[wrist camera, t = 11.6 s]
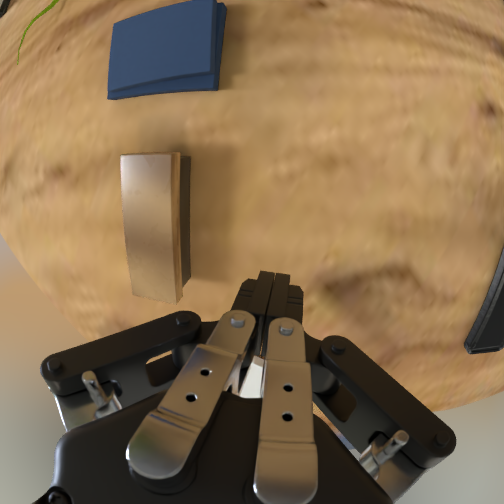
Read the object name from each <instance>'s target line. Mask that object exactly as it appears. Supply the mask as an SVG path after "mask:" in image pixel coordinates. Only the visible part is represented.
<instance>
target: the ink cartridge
mask: <svg viewBox="0 0 504 504" xmlns="http://www.w3.org/2000/svg"><path fill="white" fill-rule="evenodd" d="M9 2H10V0H0V18H1V17H2V16H3V15H4V14H5V13H6V10H7V8H8V5H9Z"/></svg>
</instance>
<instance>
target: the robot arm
mask: <svg viewBox="0 0 504 504" xmlns="http://www.w3.org/2000/svg"><path fill="white" fill-rule="evenodd" d="M274 277H275V280H274ZM289 283H290V275H288V274H281V273H276V275H275V273H274V272H267V271H260V273H259V276H258V279H257V280H255V279H247V280H246V281H244V282H243V283H242V285H241V287H240V290H239V292H238V294H237V296H236V299H235V301H234V303H233V306H232V308H231V310H230V311H228V312H226V313H225V314H223V316H222V317H221V319H220V320H219V321H213V322H201V318H200V317H199V315H197V314H196V313H194V312H191V311H178V312H175V313H172V314H169V315H166V316H164V317H161V318H158V319H155V320H152V321H150V322H147V323H144V324H141V325H138V326H136V327H133V328H130V329H127V330H124V331H121V332H118V333H115V334H113V335H110V336H107V337H104V338H101V339H98V340H95V341H92V342H89V343H86V344H83V345H80V346H77V347H74V348H71V349H68V350H65V351H61V352H58V353H55V354H52V355H50V356H48V357H47V358H46V359H44V361H43V362H42V364H41V367H40V372H41V375H42V376H43V378H44V380H45V381H46V383H47V385H48V386H49V389H50V391H51V392H52V394H53V395H54V397H55V398H56V401H57V404H58V408H59V411H60V414H61V418H62V420H63V424H64V427H65V429H66V433H65V434H64V435H63V436H62V438H60V440H59V442H58V443H57V446H56V448H55V454H54V473H53V479H52V483H51V486H50V488H49V490H48V491H47V492H46V493H45V494H44V495H43V496H42V497H41V498H39V499H38V500H37V501H35V502H33V503H32V504H394V503H395V502H396V501H397V500H398V499H399V498H400V497H402V496H403V495H404V493H406V492H407V491H408V490H409V489H410V488H411V487H412V486H413V485H414V484H415V483H416V482H417V481H418V480H419V478H420V477H421V476H422V475H423V474H425V473H426V472H428V471H429V470H430V469H432V468H433V467H434V466H436V465H437V464H438V463H440V462H441V461H442V460H444V459H445V458H446V457H447V456H449V455H450V454H451V453H452V452H453V451H454V449H455V446H456V436H455V434H454V432H453V430H452V429H451V428H450V427H449V426H447V425H446V424H445V423H444V422H443V421H442V420H440V419H439V418H438V417H437V416H436V415H435V414H434V413H432V412H431V411H430V410H429V409H428V408H427V407H426V406H424V405H423V404H422V403H421V402H420V401H419V400H418V399H416V398H415V397H414V396H413V395H412V394H411V393H409V392H408V391H407V390H406V389H405V388H404V387H403V386H401V385H400V384H399V383H398V382H397V381H396V380H395V379H393V378H392V377H391V376H390V375H389V374H388V373H387V372H385V371H384V370H383V369H382V368H381V367H380V366H379V365H377V364H376V363H375V362H374V361H373V360H372V359H371V358H369V357H368V356H367V355H366V354H365V353H364V352H363V351H361V350H360V349H359V348H358V347H357V346H356V345H354V344H353V343H352V342H351V341H350V340H348V339H347V338H345V337H342V336H336V335H334V336H328V337H326V338H324V339H323V340H322V341H321V340H318V339H315V338H313V337H311V336H309V335H308V334H307V333H306V332H305V331H304V328H303V326H302V317H303V293H304V292H303V291H302V289H301V288H300V286H295V285H289ZM262 342H263V345H262ZM261 347H262V352H261V356H264V363H263V370H262V378H261V387H260V395H259V398H243V397H240V394H241V392H242V389H243V387H244V384H245V381H246V379H247V376H248V373H249V371H250V368H251V363H252V361H253V358H254V355H257V356H259V355H260V351H261ZM170 350H171V351H172V354H170V355H167V356H165V357H163V358H160V359H158V360H155V361H153V362H150V363H148V364H146V363H147V361H148V360H149V359H151V358H153V357H156V356H158V355H160V354H163V353H165V352H168V351H170ZM312 401H313V402H314V403H315V404H316V405H317V407H318V408H319V409H320V410H321V411H322V412H323V413H324V414H325V416H326V417H327V418H328V419H329V420H330V421H331V422H332V423H333V425H334V426H335V427H336V428H337V429H338V430H339V431H340V432H341V433H342V434H343V436H344V437H345V438H346V439H347V440H348V441H349V442H350V443H351V444H352V445H353V446H354V447H355V449H356V450H357V451H358V452H359V453H360V454H361V455H360V459H359V461H358V460H357V459H356V458H355V457H354V456H353V455H352V453H351V452H350V451H349V450H348V449H347V448H346V446H345V445H344V444H343V443H342V442H341V440H340V439H339V438H338V437H337V436H336V434H335V433H334V432H333V431H332V430H331V428H330V427H329V426H328V425H327V424H326V423H325V422H324V421H323V420H322V419H321V418H319V417H318V416H316V415H315V414H313V402H312Z"/></svg>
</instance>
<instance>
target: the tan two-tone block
mask: <svg viewBox="0 0 504 504" xmlns="http://www.w3.org/2000/svg"><path fill="white" fill-rule="evenodd" d="M190 161H191V157H190V156H180V152H142V153H127V154H122V155H121V193H122V211H123V224H124V234H125V244H126V253H127V261H128V268H129V275H130V282H131V288H132V294H133V295H135V296H139V297H143V298H148V299H152V300H156V301H161V302H165V303H170V304H175V305H177V303H178V302H179V301H180V299H181V298H182V296H183V290H182V288H183V286H184V285H185V284H186V283H187V281H188V280H189V279H190V277H191V273H190Z"/></svg>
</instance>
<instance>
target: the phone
mask: <svg viewBox="0 0 504 504" xmlns="http://www.w3.org/2000/svg"><path fill="white" fill-rule="evenodd" d="M464 347H465V349H466V351H467V352H468V354H478V353H488V352H496V351H500V350H501V349H503V348H504V248H503V252H502V255H501V258H500V261H499V264H498V267H497V270H496V273H495V276H494V279H493V281H492V284H491V287H490V289H489V292H488V294H487V297H486V299H485V301H484V304H483V306H482V308H481V310H480V313H479V315H478V317H477V319H476V321H475V323H474V325H473V327H472V329H471V331H470V333H469V335H468V337H467V339H466V341H465V343H464Z"/></svg>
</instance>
